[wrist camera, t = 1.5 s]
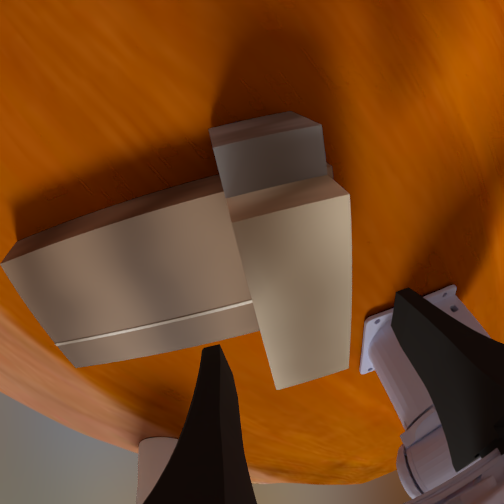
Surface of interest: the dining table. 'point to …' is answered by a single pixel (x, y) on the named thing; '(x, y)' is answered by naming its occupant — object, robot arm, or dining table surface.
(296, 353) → the stepped beige block
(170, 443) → the mug
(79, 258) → the plank
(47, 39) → the dining table surface
